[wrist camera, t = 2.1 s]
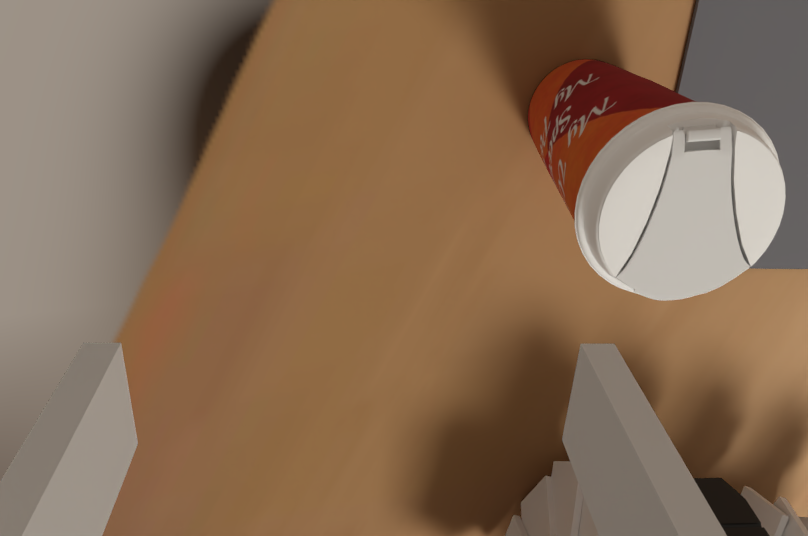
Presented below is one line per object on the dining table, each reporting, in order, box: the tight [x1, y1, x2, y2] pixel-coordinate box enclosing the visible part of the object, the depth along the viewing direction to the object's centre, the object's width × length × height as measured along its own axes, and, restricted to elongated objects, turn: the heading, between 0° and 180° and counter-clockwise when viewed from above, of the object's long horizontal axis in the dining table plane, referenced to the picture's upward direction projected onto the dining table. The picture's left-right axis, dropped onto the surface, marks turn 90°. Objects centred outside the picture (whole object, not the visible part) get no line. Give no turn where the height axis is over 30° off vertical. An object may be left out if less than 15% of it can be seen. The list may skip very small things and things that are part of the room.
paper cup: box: [528, 59, 786, 300], centre depth 31 cm, size 8×8×14 cm
